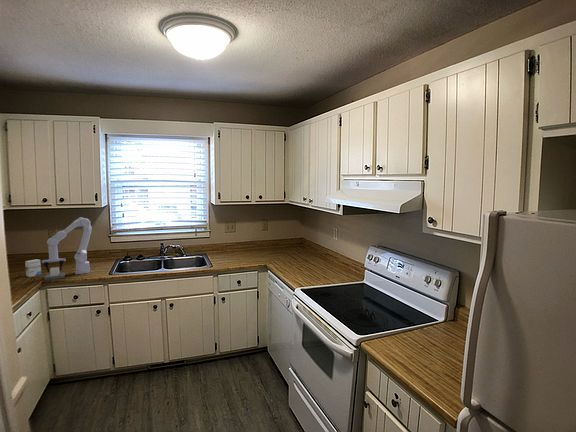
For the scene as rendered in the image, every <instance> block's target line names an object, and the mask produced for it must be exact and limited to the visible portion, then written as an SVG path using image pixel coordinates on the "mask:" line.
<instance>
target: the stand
mask: <svg viewBox="0 0 576 432" xmlns="http://www.w3.org/2000/svg"><path fill="white" fill-rule="evenodd" d="M65 275H66V272H59V276H52V277H50V273H48V274H45V276H44V277H43V278H44V281H53V280H61V279H64V278H65V277H66V276H65Z"/></svg>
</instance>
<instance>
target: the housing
mask: <svg viewBox="0 0 576 432" xmlns="http://www.w3.org/2000/svg"><path fill="white" fill-rule="evenodd" d="M59 273H60V266H58V267H57V266H56V267H50V268H49V274H50V277H52V276H59Z"/></svg>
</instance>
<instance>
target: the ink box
mask: <svg viewBox="0 0 576 432" xmlns="http://www.w3.org/2000/svg"><path fill="white" fill-rule="evenodd" d="M41 263H42V262H41V259H31V260H25V264H24V265H25V274H26V275H25V276H26V277H28V278H32V277H35V276H40V275H42V265H41Z"/></svg>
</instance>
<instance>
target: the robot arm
mask: <svg viewBox="0 0 576 432" xmlns="http://www.w3.org/2000/svg"><path fill="white" fill-rule="evenodd" d="M80 227H81V228H82V230H83V233H82V237H81V240H80V244H79V248H78V249H77V251H76V253H75V254H74V256H73V258H74V260H75V273H74V274H75V275H81V274H82V275H83V274H89V273H90V271H91V268H90V261H88V260H87V259H88V256H87V255H88V251H87V249H88V246H89V243H90V237H91V235H92V230H93V227H92V225H91V220H90V219H89V218H85V217H82V216H81V217H78V218H76V219H75V220H74V221H73V222H72V223H71V224H69V225H68V226H66V228H65V229H64V230H60V231H57V233H56V234H53V235H52V236H51V237H50V238H48V239H47V241H46V244H47V245H48V247H47V248H48V249H47V250H48V259H42V260H41V263H42V264H43V266H44V267H45V269H46V271H47V273H50V266H49V263H56V262H59V272H62V268H63V264H64V262H66V258H63V257H62V258H61V257H59V249H58V245H59V244H60V243H59V242H61V241H62V240H64V239H65V238H66V237H67V234H68V233H70V232H71V231H73V230H74V229H75V228H80Z"/></svg>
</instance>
